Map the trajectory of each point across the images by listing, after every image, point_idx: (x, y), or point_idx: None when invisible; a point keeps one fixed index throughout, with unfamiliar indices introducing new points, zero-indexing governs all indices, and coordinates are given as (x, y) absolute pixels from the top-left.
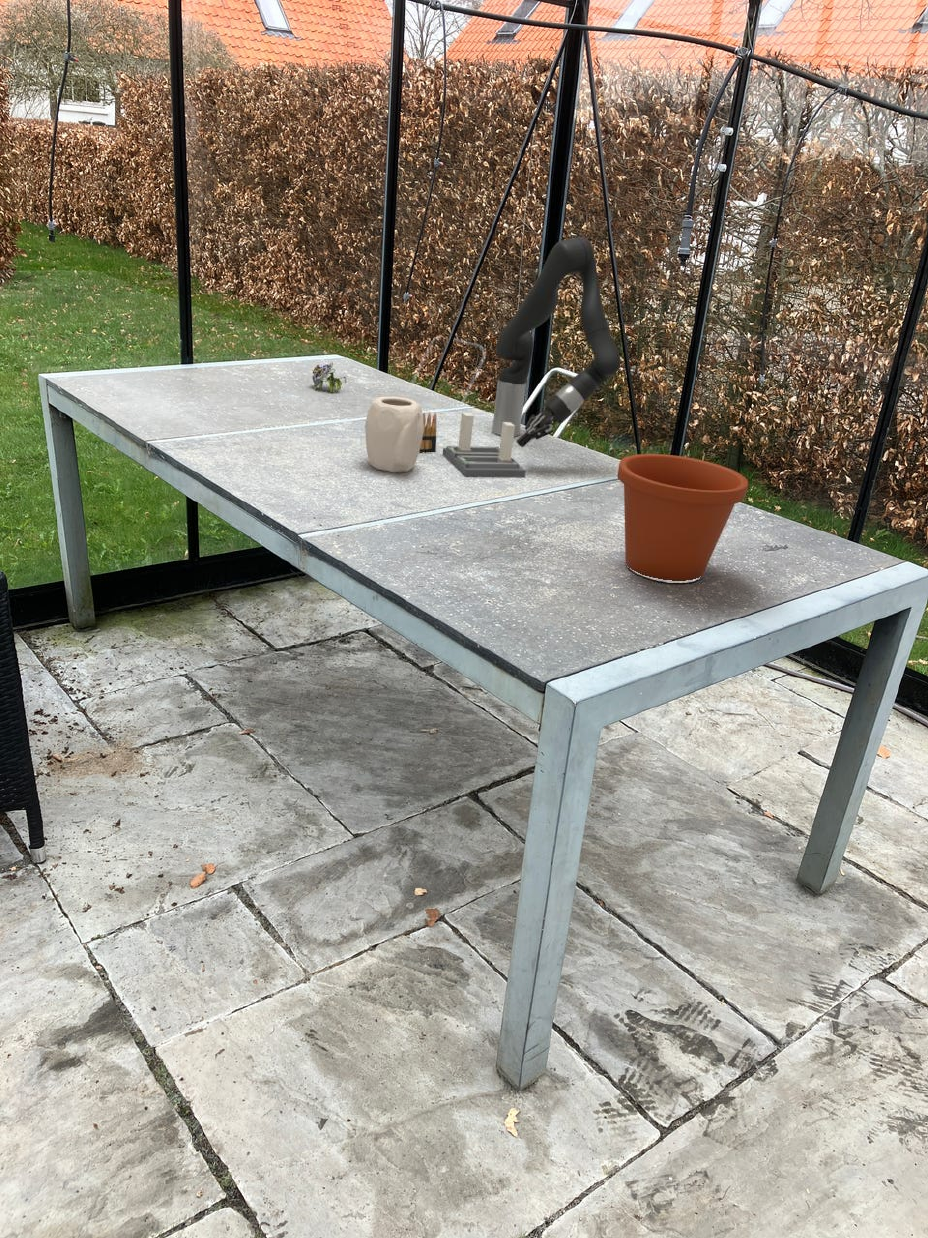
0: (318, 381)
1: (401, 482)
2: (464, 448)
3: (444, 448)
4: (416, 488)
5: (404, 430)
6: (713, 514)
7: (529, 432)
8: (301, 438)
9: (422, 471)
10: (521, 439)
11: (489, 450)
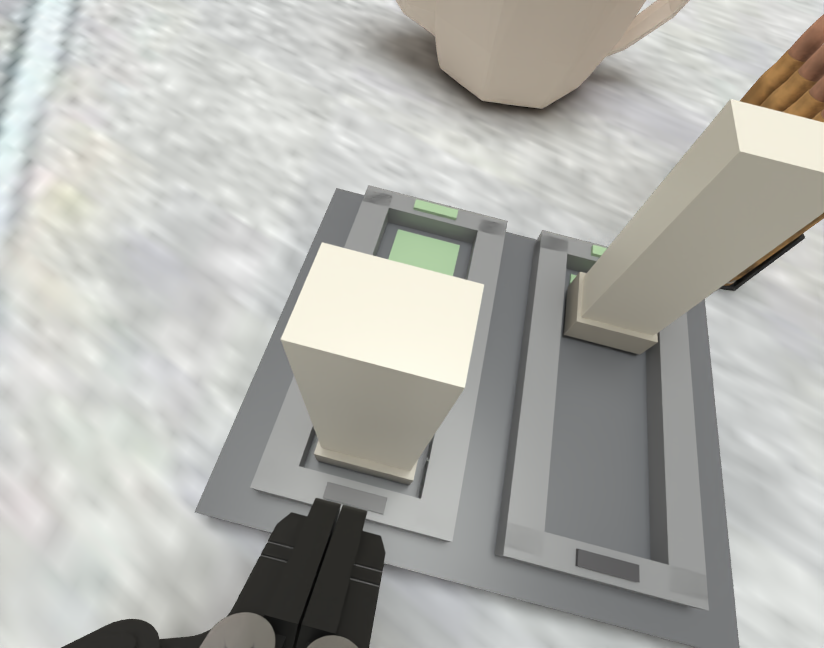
0: None
1: (350, 21)
2: (584, 283)
3: None
4: (279, 24)
5: None
6: None
7: (222, 635)
8: (798, 19)
9: (445, 117)
10: (301, 528)
11: (654, 511)
